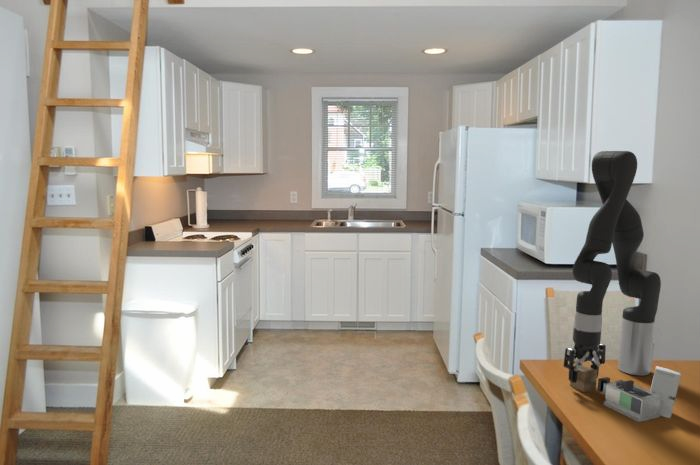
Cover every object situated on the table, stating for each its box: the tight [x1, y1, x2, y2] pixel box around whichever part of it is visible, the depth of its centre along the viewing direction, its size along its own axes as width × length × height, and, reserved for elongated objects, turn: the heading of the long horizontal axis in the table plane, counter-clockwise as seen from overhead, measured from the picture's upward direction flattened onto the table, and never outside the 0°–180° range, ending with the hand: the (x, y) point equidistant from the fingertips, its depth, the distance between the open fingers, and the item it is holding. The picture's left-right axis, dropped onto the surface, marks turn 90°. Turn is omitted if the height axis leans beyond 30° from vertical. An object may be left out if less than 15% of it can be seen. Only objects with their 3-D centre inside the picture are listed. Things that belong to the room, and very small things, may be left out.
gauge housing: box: [603, 380, 661, 423], centre depth 147 cm, size 8×11×6 cm
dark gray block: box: [624, 379, 635, 392], centre depth 144 cm, size 2×1×3 cm, turn 114°
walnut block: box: [569, 364, 598, 393], centre depth 162 cm, size 5×5×6 cm
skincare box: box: [649, 365, 682, 419], centre depth 146 cm, size 6×4×12 cm
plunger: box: [596, 376, 635, 395], centre depth 151 cm, size 6×10×6 cm, turn 24°
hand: (583, 379), depth 162 cm, fingers open, 8 cm apart
